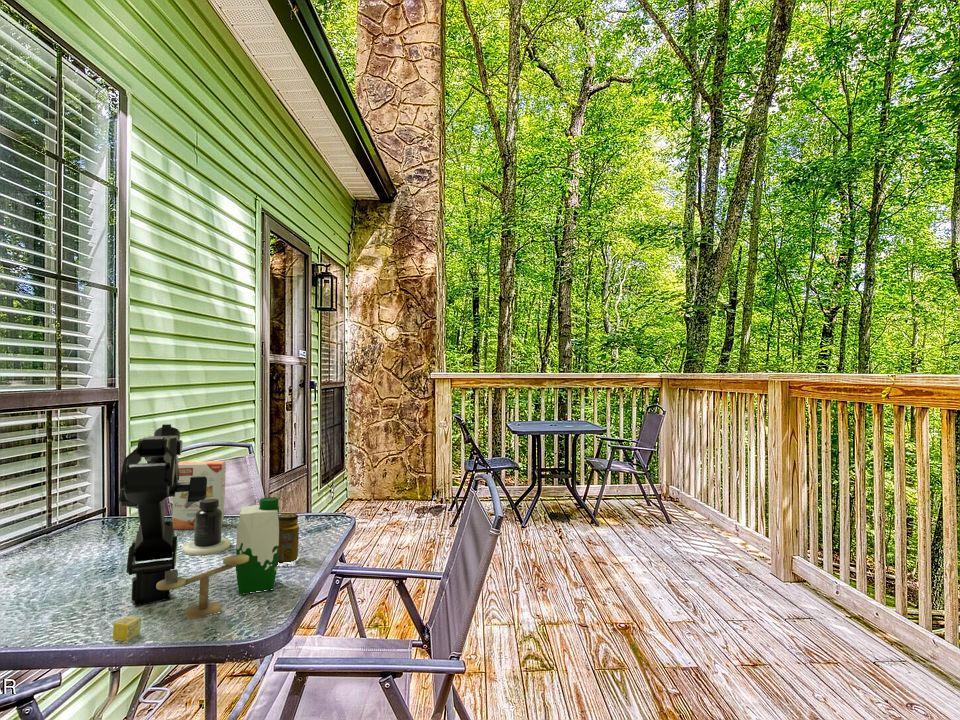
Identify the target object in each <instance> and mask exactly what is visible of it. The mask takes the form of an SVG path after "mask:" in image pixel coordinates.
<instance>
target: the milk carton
mask: <svg viewBox="0 0 960 720" xmlns="http://www.w3.org/2000/svg"><path fill="white" fill-rule="evenodd" d="M279 506H280V505H279V498H278V497H276V496H275V497H274V496H273V497H272V496H269V497H263V498H260V499H259V504H253V505H249V506H241V509H240V513H239V520H238V524H237V527H236V528H237V529H236V537H235V538H236V542H235V543H236V545H235V555H239V554H244V555H248V556H249V561H248V562H246V563H243V564H239V565H237V566H236V567H235V577H236V582H237V583H236V584H237V591H238V592H237V593H238V595H239V594H243V593H250V592H256V591H264V590H271V589H273V590H274V588H275V581H276V577H277V576H276V575H277V571H278V567H277V565H278V550H279V520H278V517H279V515H280V514H279V512H280V507H279ZM243 595H244V594H243Z"/></svg>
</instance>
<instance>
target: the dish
mask: <svg viewBox="0 0 960 720" xmlns="http://www.w3.org/2000/svg"><path fill="white" fill-rule="evenodd" d="M230 547H231V539H229V538H225V537H221V542H220V543H219V544H217V545H214V546H208V547H198V546H195V544H194V540H191V541H188V542H186V543H184V544H183V545H182V551H181V552H182V554H185V555H189V556H206V555H213V554H217V553H221V552H223V551H226V550H228V549H230Z"/></svg>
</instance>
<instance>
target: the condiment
mask: <svg viewBox="0 0 960 720" xmlns="http://www.w3.org/2000/svg"><path fill="white" fill-rule="evenodd" d="M298 518H299V515H298V514H297V513H292V512H287V513H280V514H279V517H278V520H279V550H278V562H279V563H283V562H291V561H294V560H296V559H297V557H298V556H299V541H300V540H299V534H300V533H299V532H300V531H299V530H300V525H299V524H298V522H299V520H298Z"/></svg>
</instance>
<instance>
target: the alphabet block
mask: <svg viewBox="0 0 960 720" xmlns="http://www.w3.org/2000/svg"><path fill="white" fill-rule="evenodd" d="M141 623H142V621H141V617H137V616H129V615H127V616H125V617H123V618H120V620H117V621H116V622H114V623H113V625H112V626H113V628H112V639H113V640H115V641H123V642H125V641H126V642H127V641H130V640H131V639H132V638H135V637H136V636H137V635H139V634H140V633H141V625H142V624H141Z"/></svg>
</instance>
